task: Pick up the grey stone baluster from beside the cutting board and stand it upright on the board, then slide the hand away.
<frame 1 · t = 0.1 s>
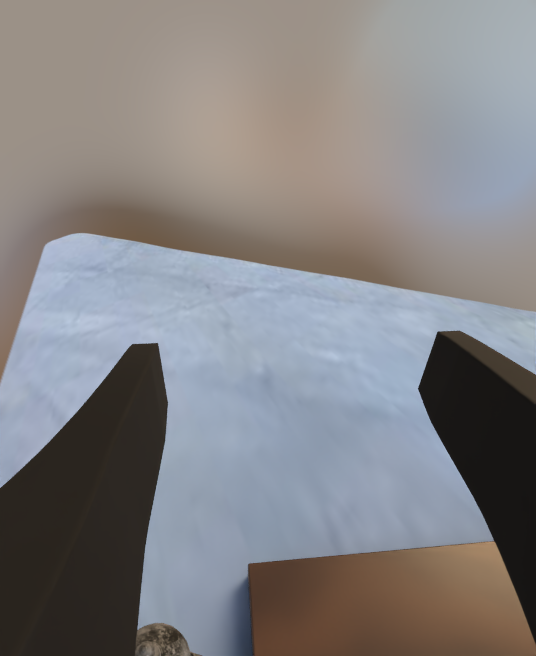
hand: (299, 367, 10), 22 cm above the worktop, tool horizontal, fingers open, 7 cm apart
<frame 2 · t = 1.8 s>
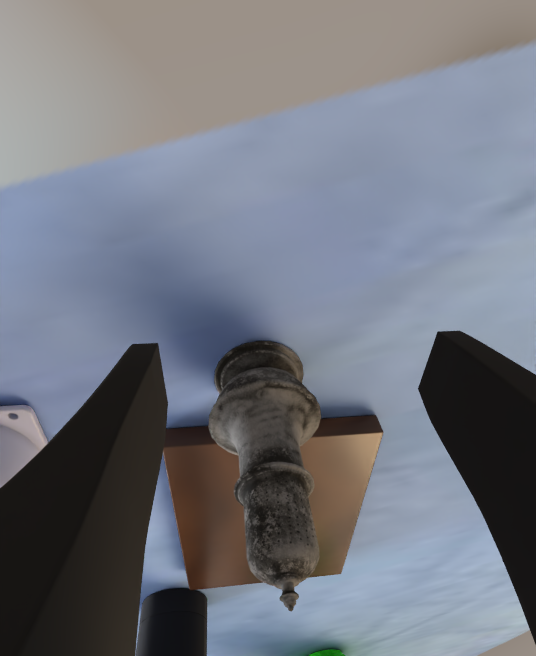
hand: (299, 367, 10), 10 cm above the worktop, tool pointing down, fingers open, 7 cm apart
cutting board: (268, 506, 31), on the worktop
black bottle: (175, 600, 40), on the worktop
grey stone baluster: (258, 374, 23), on the worktop
plastic bottle: (323, 654, 55), on the worktop
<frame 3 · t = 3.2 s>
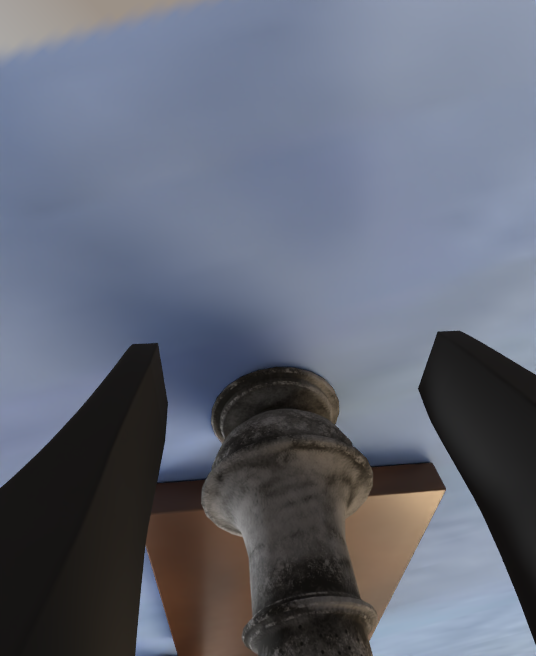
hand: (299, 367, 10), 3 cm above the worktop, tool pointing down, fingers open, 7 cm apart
cutting board: (281, 569, 24), on the worktop
grey stone baluster: (275, 411, 16), on the worktop
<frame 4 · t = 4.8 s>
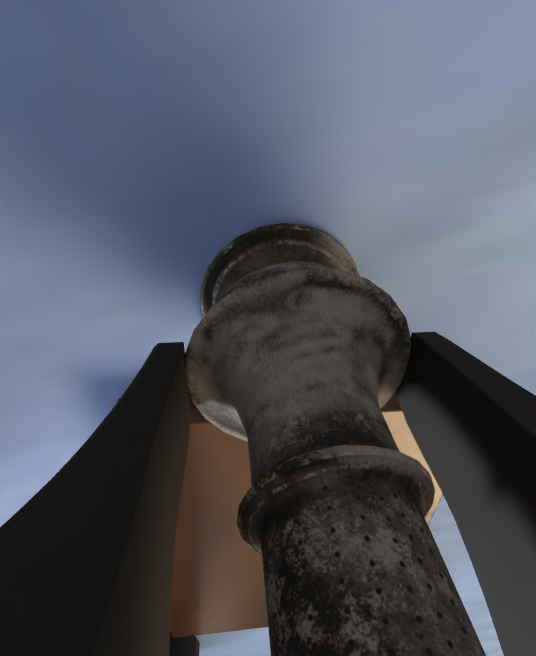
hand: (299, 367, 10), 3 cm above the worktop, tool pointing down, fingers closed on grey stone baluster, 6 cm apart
cutting board: (287, 522, 21), on the worktop
black bottle: (156, 643, 30), on the worktop
grey stone baluster: (280, 297, 13), on the worktop, touching gripper
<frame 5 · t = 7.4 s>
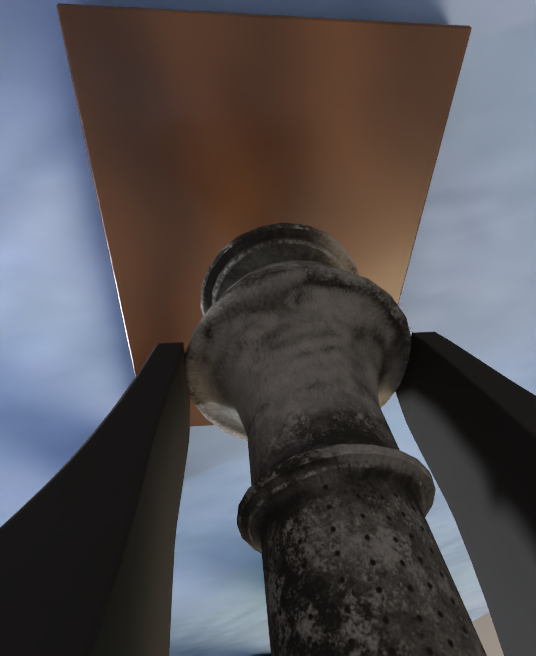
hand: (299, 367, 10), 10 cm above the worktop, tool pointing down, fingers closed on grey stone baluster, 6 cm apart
cutting board: (263, 267, 20), on the worktop
grey stone baluster: (280, 296, 13), point 7 cm above the worktop, touching gripper
when the fingers open (5 cm above the worktop, at t = 9.8 s): grey stone baluster stays where it is, resting on cutting board.
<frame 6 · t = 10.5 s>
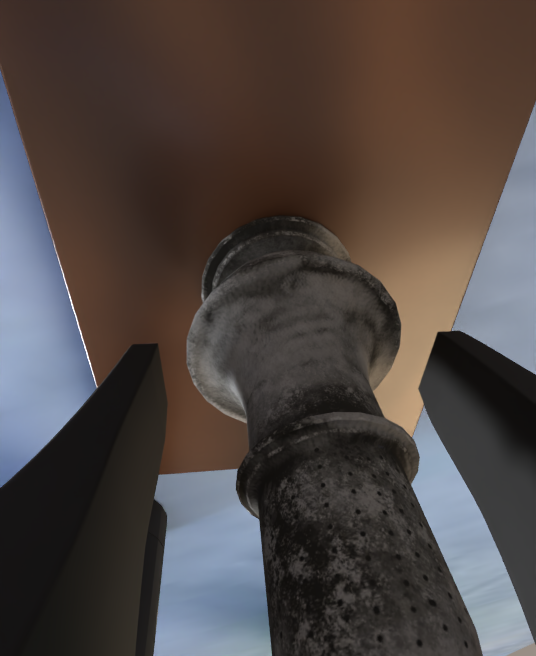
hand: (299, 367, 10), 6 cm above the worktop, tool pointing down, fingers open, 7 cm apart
cutting board: (274, 270, 15), on the worktop
black bottle: (112, 516, 23), on the worktop
grey stone baluster: (277, 287, 14), point 1 cm above the worktop, touching cutting board
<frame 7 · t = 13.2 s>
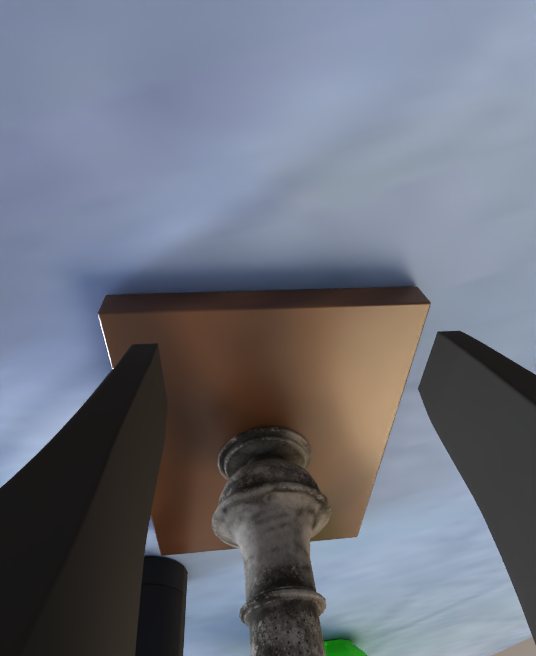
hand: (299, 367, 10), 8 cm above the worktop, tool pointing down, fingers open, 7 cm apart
cutting board: (262, 437, 23), on the worktop
black bottle: (147, 572, 32), on the worktop
grey stone baluster: (264, 455, 22), point 1 cm above the worktop, touching cutting board
plastic bottle: (330, 645, 47), on the worktop
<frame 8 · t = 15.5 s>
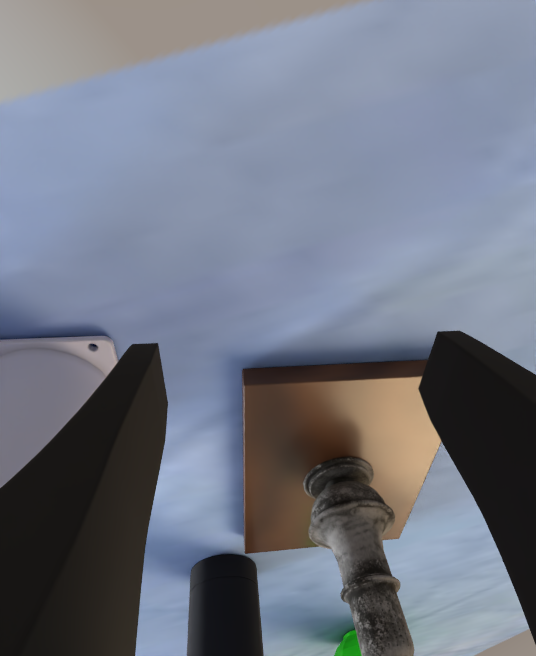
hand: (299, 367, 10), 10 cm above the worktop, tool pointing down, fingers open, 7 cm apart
cutting board: (333, 462, 30), on the worktop
black bottle: (223, 567, 39), on the worktop
grey stone baluster: (337, 477, 29), point 1 cm above the worktop, touching cutting board
plastic bottle: (361, 632, 54), on the worktop
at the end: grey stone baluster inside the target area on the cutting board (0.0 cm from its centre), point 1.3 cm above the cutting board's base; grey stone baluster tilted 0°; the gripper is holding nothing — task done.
